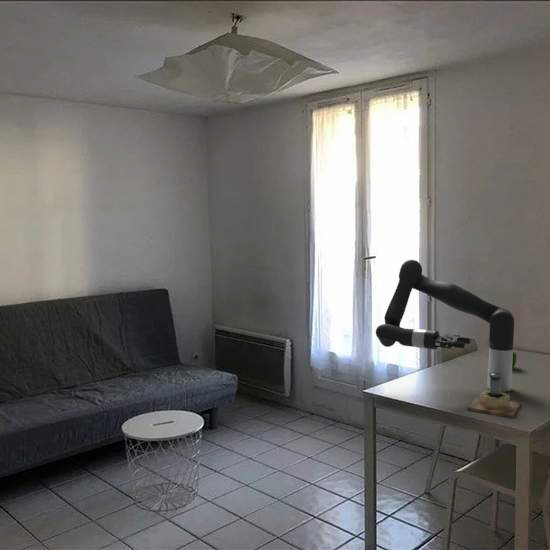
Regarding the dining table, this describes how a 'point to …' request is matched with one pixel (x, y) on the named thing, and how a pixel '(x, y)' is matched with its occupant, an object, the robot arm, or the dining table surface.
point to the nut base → (493, 411)
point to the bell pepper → (513, 360)
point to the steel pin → (495, 384)
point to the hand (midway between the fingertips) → (467, 343)
